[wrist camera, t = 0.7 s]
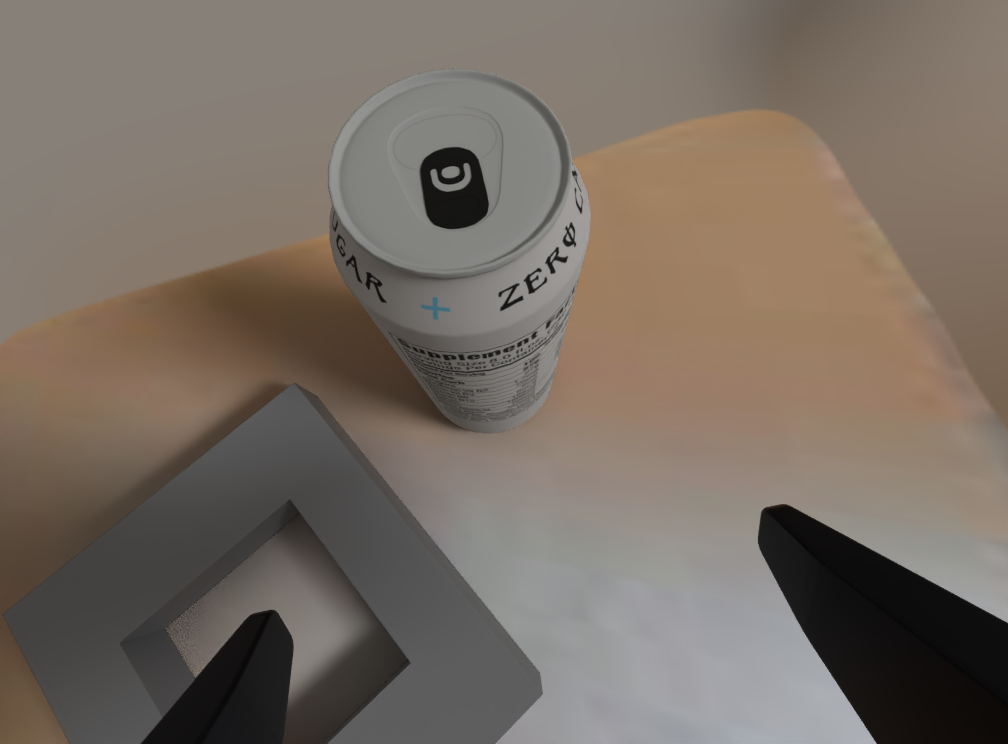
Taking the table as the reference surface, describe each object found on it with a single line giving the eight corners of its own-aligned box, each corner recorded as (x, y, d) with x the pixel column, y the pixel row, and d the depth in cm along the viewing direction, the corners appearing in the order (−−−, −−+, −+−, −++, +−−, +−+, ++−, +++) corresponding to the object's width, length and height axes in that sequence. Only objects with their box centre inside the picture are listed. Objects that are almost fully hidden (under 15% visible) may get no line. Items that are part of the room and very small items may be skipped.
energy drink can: (537, 309, 25) (564, 24, 10) (564, 423, 23) (639, 269, 9) (421, 331, 25) (286, 73, 10) (439, 447, 23) (309, 332, 9)
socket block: (539, 673, 20) (542, 694, 18) (260, 961, 18) (219, 1030, 15) (316, 396, 24) (293, 382, 21) (59, 603, 21) (2, 614, 19)
